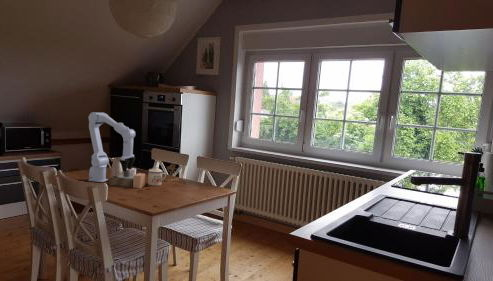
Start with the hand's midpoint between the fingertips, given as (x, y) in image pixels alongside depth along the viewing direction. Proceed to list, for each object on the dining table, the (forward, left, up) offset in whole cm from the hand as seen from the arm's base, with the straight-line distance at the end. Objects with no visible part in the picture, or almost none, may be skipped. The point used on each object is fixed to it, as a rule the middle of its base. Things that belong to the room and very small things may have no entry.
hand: (126, 170), depth 217 cm
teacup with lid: (+16, +11, -10) cm, 22 cm away
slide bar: (+2, 0, -7) cm, 7 cm away
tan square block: (+8, 0, -10) cm, 13 cm away
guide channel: (-2, 0, -10) cm, 10 cm away
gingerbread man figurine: (+22, +25, -10) cm, 35 cm away
